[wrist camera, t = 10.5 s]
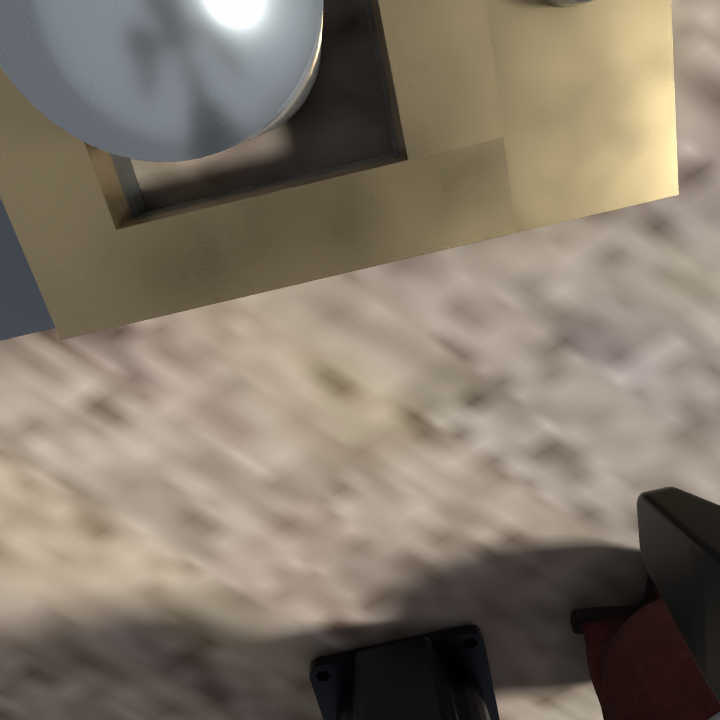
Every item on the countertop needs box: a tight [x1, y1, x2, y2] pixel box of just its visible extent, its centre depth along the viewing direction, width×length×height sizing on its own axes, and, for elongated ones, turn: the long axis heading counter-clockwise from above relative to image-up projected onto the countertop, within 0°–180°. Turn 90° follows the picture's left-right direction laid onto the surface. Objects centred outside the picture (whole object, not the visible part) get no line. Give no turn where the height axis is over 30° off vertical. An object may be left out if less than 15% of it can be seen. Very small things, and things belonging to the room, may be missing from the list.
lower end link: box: [0, 0, 400, 341], centre depth 15 cm, size 12×16×2 cm
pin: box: [0, 0, 323, 162], centre depth 12 cm, size 4×4×9 cm
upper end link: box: [0, 0, 679, 340], centre depth 15 cm, size 12×16×4 cm
